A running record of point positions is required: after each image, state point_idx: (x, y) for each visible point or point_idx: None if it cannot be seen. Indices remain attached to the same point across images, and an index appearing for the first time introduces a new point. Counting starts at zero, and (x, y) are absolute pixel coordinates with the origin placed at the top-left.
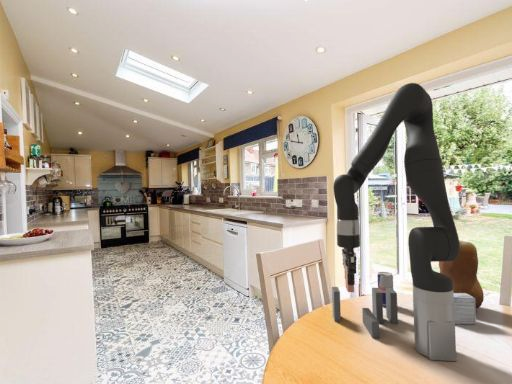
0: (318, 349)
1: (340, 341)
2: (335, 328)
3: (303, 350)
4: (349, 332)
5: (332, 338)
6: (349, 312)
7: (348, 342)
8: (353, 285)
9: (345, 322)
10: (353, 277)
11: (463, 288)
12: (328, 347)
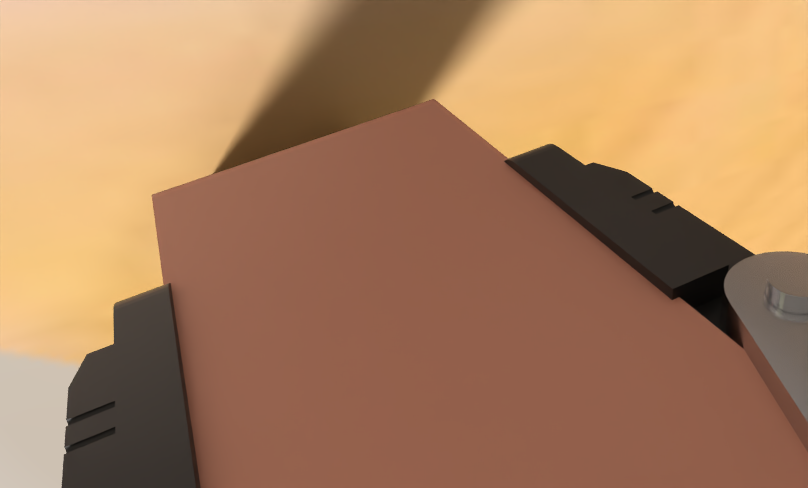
0: (755, 172)
1: (671, 69)
2: (491, 144)
3: (761, 237)
4: (536, 22)
5: (638, 129)
6: (55, 87)
7: (681, 11)
8: (498, 156)
9: (352, 86)
10: (715, 232)
11: None
12: (738, 126)
